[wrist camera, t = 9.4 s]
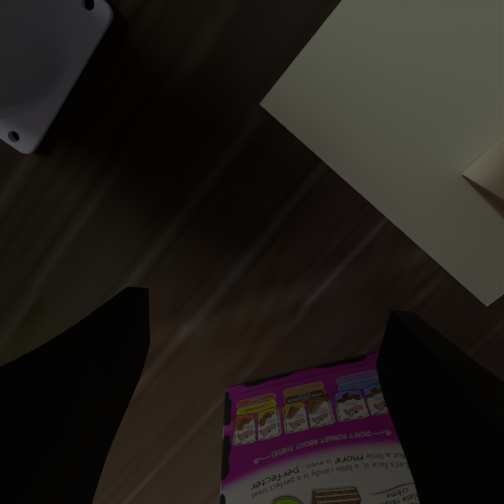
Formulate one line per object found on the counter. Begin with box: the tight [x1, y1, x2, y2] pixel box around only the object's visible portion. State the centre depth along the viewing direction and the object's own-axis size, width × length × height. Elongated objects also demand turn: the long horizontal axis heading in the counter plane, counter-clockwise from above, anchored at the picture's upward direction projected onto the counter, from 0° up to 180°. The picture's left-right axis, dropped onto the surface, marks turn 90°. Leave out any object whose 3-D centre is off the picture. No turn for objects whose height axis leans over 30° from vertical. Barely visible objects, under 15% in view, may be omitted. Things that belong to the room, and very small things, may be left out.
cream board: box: [259, 0, 504, 306], centre depth 19 cm, size 18×14×1 cm
